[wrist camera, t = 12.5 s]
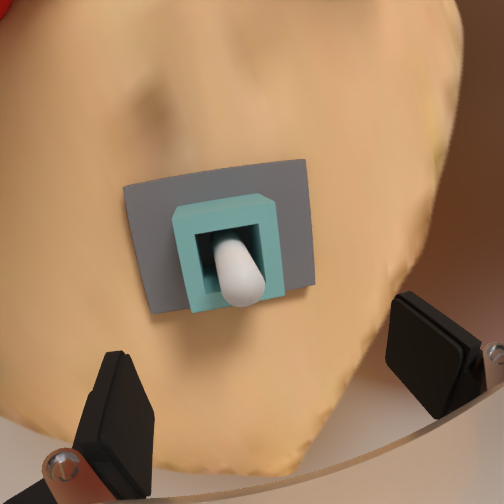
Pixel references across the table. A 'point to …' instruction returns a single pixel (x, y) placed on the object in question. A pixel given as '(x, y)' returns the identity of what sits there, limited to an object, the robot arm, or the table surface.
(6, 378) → the table surface
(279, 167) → the post stand
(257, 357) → the table surface
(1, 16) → the ceramic cup
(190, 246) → the collar
